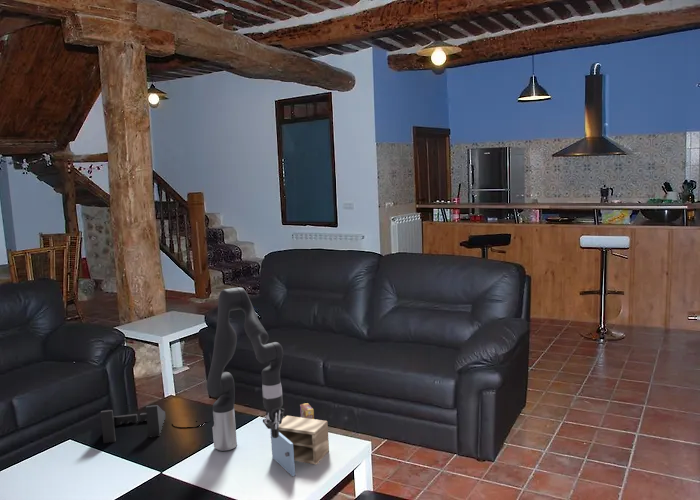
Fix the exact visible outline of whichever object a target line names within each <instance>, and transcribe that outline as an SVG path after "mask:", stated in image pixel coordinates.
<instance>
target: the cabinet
mask: <svg viewBox="0 0 700 500" xmlns="http://www.w3.org/2000/svg"><path fill="white" fill-rule="evenodd" d="M328 425H329V424H328V421H327V420H324V419H323V420H322V419H315V418H314V419H309V418H301V416H294V415H293V416H292V415H286V416H285V417H283V419H282V423H281V424H279V427H278V429H279V432H280V433H281V434H282V435H284V436H285V437H286V438H287V439H288V440H290V441H291V442H292V443H293V449H294V462H300V463H303V464H304V463H305V464H309V463H310V465H318V464H319V463H320V462H321V461H322V459H324V457H326V455H327V454H328V453H329V452H330V446H329V444H330V442H329V426H328ZM319 461H320V462H319Z"/></svg>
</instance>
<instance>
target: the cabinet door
mask: <svg viewBox="0 0 700 500" xmlns="http://www.w3.org/2000/svg"><path fill="white" fill-rule="evenodd" d="M269 430H270V439H271V440H270V441H271V442H270V443H271V455H272V457H271V458H272V459H273V460H274V461H275V462H277V463H278V465H279V466H281V467H282V468H283V469H284V470H285V471H286V473H288V474H289V475H290V476H291V477H295V476H296V469H295V468H296V467H295V466H296V465H295V461H294V449H293V443H292V442H291V441H290V440H288V439H287V438H286V437H285V436H284V435H282V434H281V433H280V432H279V436H278V437H277V438H273V437H272V430H271V429H269Z"/></svg>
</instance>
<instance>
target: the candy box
mask: <svg viewBox="0 0 700 500" xmlns="http://www.w3.org/2000/svg"><path fill="white" fill-rule="evenodd" d="M299 407H300V408H299V411H300V417H301V418H309V419H315V410H314V408H313V407H312V406H311V405H310V403H308V402H307V403H305V402H304V403H301V404H299Z"/></svg>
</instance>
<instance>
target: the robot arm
mask: <svg viewBox="0 0 700 500" xmlns="http://www.w3.org/2000/svg"><path fill="white" fill-rule="evenodd" d="M237 310H239V311H240V310H241V311H242V312H243V313H244V316H245V317H244V324H243V327H244V332H245V334H246V336H247V337H248V339H249V341H250V342H251V345H252V348H253V351H254V355H255V359H256V360H257V362H258V363H260V364H261V365H263V364H268V363H269V365H267V366H266V367H263V369H262V371H261V384H262V385H261V386H262V387H261V388H262V389H261V390H262V391H261V392H262V393H261V394H262V405H263V408H264V409H265V410H266V411H265V415H266V417H265V418H262V423H263V425H265V427H266V428H267V429H269V430H270V429H271V430H272V437H273V438H277V437H278V436H279V429H278V427H279V424H281V423H282V419H283V418H284V416H285V410H286V409H285V408H282V407H283V405H284V399H283V386H282V382H281V369H282V368H281V367H282V363H283V359H284V358H283V357H284V349H283V346H282V344H281V343H279V342H277V341H274V342H269V343H267V342H268V341H269V339H270V337H269V334H268V332H267V331H266V328H264V326H263V324H262V323H261V321H260V320H259V318H258V315H257V314H256V310H255V308H254V306H253V304H252V300H251V299H250V297H249V294H248V292H247V291H246V290H245V289H244V288H243V287H230V288H225V289H222V290H220V292H219V296H218V305H217V321H216V328H215V329H216V331H215V335H214V336H215V337H214V341H213V351H212V358H211V364H210V368H209V371H208V376H207V380H206V390H207V393H208V395H209V396H210V397H212V398H216V397H218V398H217V400H215V401H214V402H213V404H212V416H213V426H212V427H211V428H212V438H213V439H212V440H213V447H214V449H216V450H217V451H221V452H222V451H230V450H233V449H234V448H236V447H237V446H238V442H237V429H236V427H237V426H236V417H235V415H236V414H235V401H236V397H235V396H236V394H235V392H236V390H235V387H236V386H235V379H234V377H233V374H232V373H231V372H228V371H224V370H225V367H227V365H228V364H229V362H230V361H231V360H232V358H233V357H234V354H235V352H236V349H237V348H236V347H237V343H238V342H237V341H238V336H237V332H236V330H235V329H234V327H233V326H232V324H231V322H230V313H231V312H232V311H237ZM271 430H270V431H271Z"/></svg>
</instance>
